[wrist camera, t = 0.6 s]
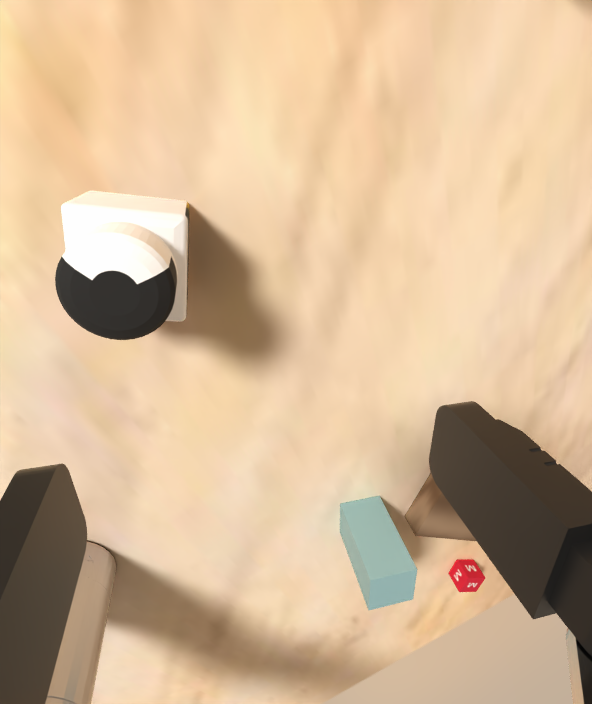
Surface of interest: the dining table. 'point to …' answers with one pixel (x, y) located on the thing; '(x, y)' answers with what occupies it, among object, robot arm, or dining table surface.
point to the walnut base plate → (435, 515)
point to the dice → (466, 575)
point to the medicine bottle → (124, 263)
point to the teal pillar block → (377, 553)
